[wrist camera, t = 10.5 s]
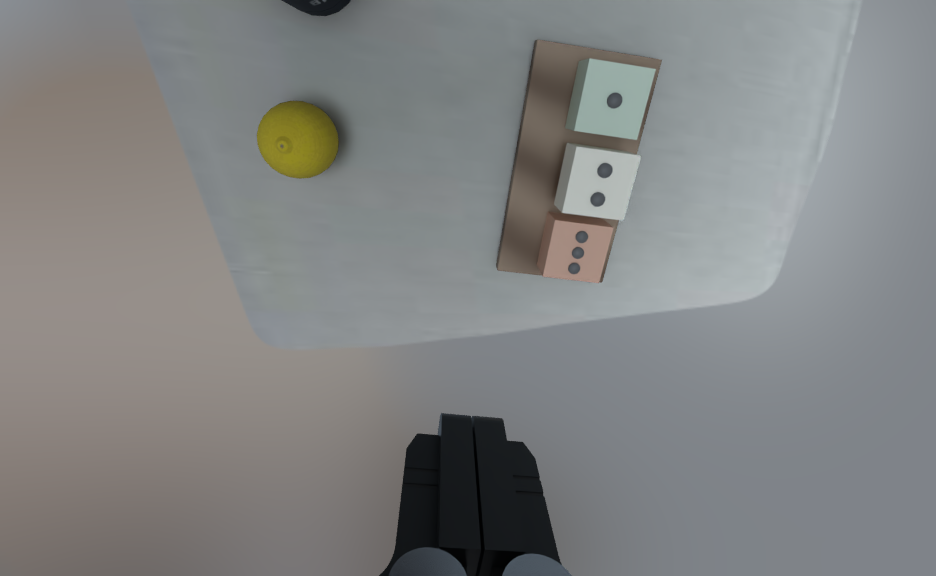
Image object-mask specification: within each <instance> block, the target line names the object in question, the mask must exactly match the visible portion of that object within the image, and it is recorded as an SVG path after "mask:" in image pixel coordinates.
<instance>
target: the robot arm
mask: <svg viewBox="0 0 936 576" xmlns="http://www.w3.org/2000/svg"><path fill="white" fill-rule="evenodd" d="M379 576H572V575H571V574H570V573H569V572H568V571H567V570H566V569H565V568H564V567H563V566H562V564H561V562H560V559H559V556H558V552H557V548H556V543H555V539H554V535H553V531H552V527H551V523H550V518H549V514H548V510H547V506H546V502H545V498H544V496H543V489H542V485H541V481H540V480H539V473H538V469H537V464H536V460H535V458H534V456H533V455H532V454H531V452H530V451H529V450H528V448H527V447H526V446H525V444H524V443H523V442H516V441H507V439H506V433H505V427H504V422H503V419H502V418H492V417H480V416H472V419H471V416H467V415H466V416H465V415H455V414H444V413H441V415H440V421H439V428H438V435H428V434H417V435H416V436H415V438H414V439H413V440H412V442H411V443H410V445H409V446H408V447H407V450H406V459H405V468H404V476H403V485H402V493H401V502H400V511H399V520H398V528H397V537H396V546H395V551H394V554H393V557H392V559H391V561H390V563H389V565H388V566H387V568H386V569H385V570H384V571H383V573H381V574H380V575H379Z"/></svg>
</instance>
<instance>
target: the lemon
mask: <svg viewBox="0 0 936 576" xmlns="http://www.w3.org/2000/svg"><path fill="white" fill-rule="evenodd" d="M257 142H258V147H259V150H260V153H261V154H262V156H263V158H264V160H265V161H266V162H267V163H268V164H269V165H270V166H271V167H272V168H273V169H274V170H276V171H277V172H279V173H281V174H283V175H286V176H288V177H293V178H310V177H313V176H316V175H318V174H321V173H322V172H323V171H325V170H326V169H327V168H329V166H330V165H331V164H332V162H333V161H334V159H335V157H336V154H337V152H338V144H339V141H338V133H337V131H336V128H335V126H334V124H333V122H332V121H331V119H330V118H329V116H328V115H327V114H326V113H324V112H323V111H322V110H321V109H319V108H318V107H316V106H314V105H313V104H309V103H306V102H303V101H288V102H284V103H280V104H278V105H276V106H275V107H273V108H271V109H270V110H269V111H268V112H267V113H266V114H265V115H264V116H263V118H262V120H261V122H260V124H259V127H258V132H257Z"/></svg>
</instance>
